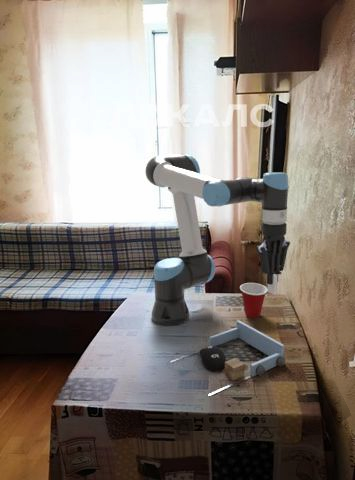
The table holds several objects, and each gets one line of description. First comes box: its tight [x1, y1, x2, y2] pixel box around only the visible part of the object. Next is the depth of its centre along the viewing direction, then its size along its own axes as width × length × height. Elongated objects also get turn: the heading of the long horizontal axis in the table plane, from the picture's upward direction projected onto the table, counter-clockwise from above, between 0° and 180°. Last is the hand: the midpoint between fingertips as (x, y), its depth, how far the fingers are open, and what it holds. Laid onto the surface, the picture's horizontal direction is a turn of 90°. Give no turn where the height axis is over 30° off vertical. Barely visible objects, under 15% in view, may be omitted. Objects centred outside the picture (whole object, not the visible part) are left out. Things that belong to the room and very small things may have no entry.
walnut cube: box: [224, 357, 245, 381], centre depth 110 cm, size 4×4×4 cm
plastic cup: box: [239, 282, 268, 319], centre depth 147 cm, size 11×11×12 cm
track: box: [169, 338, 279, 397], centre depth 117 cm, size 21×30×1 cm
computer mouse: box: [199, 345, 227, 373], centre depth 117 cm, size 8×12×4 cm, turn 9°
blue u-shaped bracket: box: [208, 319, 286, 378], centre depth 120 cm, size 23×13×6 cm, turn 32°
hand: (272, 292), depth 122 cm, fingers closed
